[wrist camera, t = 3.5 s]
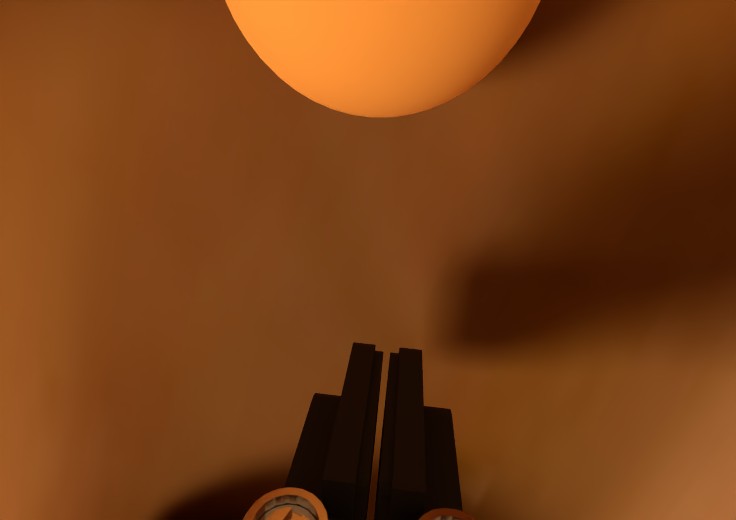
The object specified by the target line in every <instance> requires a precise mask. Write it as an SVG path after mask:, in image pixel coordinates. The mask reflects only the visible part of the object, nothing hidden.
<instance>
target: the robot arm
mask: <svg viewBox="0 0 736 520" xmlns="http://www.w3.org/2000/svg"><path fill="white" fill-rule="evenodd" d="M382 361H383V352H381V351H375V345H372V344H363V343H353V346H352V351H351V355H350V359H349V364H348V368H347V373H346V377H345V381H344V386H343V390H342V395H341V396H335V395H327V394H319V393H315V394H314V396H313V399H312V402H311V405H310V408H309V411H308V414H307V418H306V421H305V424H304V427H303V430H302V433H301V437H300V440H299V443H298V446H297V449H296V453H295V456H294V459H293V462H292V465H291V468H290V472H289V475H288V478H287V481H286V484H285V488H281V489H276V490H274V491H271V492H269V493H267V494H265V495H263V496H262V497H261V498H260V499H258V500H257V501H256V502H255V503H254V504H253V505H252V506H251V508H250V509H249V510H248V512H247V513H246V515H245V517H244V519H243V520H366V518H367V509H368V500H369V490H370V481H371V472H372V462H373V453H374V443H375V433H376V423H377V413H378V402H379V392H380V381H381V371H382ZM374 520H476V519H475V518H473V517H472V516H471V515H469V514H467V513H464V512H463V511H462V502H461V493H460V484H459V475H458V466H457V457H456V448H455V439H454V430H453V421H452V414H451V410H450V409H444V408H436V407H428V406H424V404H423V370H422V350H417V349H408V348H399V353H390V361H389V371H388V380H387V390H386V400H385V409H384V419H383V428H382V438H381V448H380V459H379V471H378V482H377V493H376V504H375V515H374Z"/></svg>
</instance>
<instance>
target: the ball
mask: <svg viewBox="0 0 736 520" xmlns="http://www.w3.org/2000/svg"><path fill="white" fill-rule="evenodd" d="M225 1H226V3H227V5H228V7H229V10H230V12H231V14H232V16H233V18H234V20H235V22H236V23H237V25H238V27H239V28H240V30H241V32H242V33H243V35H244V37H245V38H246V40H247V41H248V42H249V44H250V45H251V46H252V48H253V49H254V50H255V51H256V53H257V54H258V55H259V57H260V58H261V59H262V60H263V61H264V62H265V63H266V64H267V65H268V66H269V67H270V68H271V69H272V70H273V71H274V72H275V73H276V74H277V75H278V76H279V77H280V78H281V79H282V80H283V81H285V82H286V83H287V84H288V85H290V86H291V87H292V88H293V89H295V90H296V91H298V92H299V93H301V94H303V95H304V96H306V97H308V98H309V99H311V100H313V101H315V102H317V103H319V104H321V105H324V106H326V107H328V108H331V109H333V110H337V111H340V112H344V113H347V114H351V115H358V116H365V117H397V116H404V115H411V114H414V113H418V112H422V111H425V110H429V109H431V108H434V107H436V106H439V105H441V104H443V103H446V102H448V101H450V100H452V99H453V98H455V97H457V96H459V95H460V94H462V93H464V92H466V91H467V90H468V89H470V88H471V87H472V86H474V85H475V84H476V83H478V82H479V81H480V80H482V79H483V78H484V77H485V76H486V75H487V74H488V73H490V72H491V71H492V70H493V69H494V68H495V67H496V66H497V65H498V64H499V63H500V62H501V61H502V60H503V58H504V57H505V56H506V55H507V53H508V52H509V51H510V50H511V49H512V47H513V46H514V45H515V44H516V42H517V41H518V39H519V38H520V36H521V35H522V33H523V32H524V30H525V29H526V27H527V25H528V24H529V22H530V21H531V19H532V17H533V15H534V13H535V11H536V9H537V7H538V5H539V3H540V1H541V0H225Z"/></svg>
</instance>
